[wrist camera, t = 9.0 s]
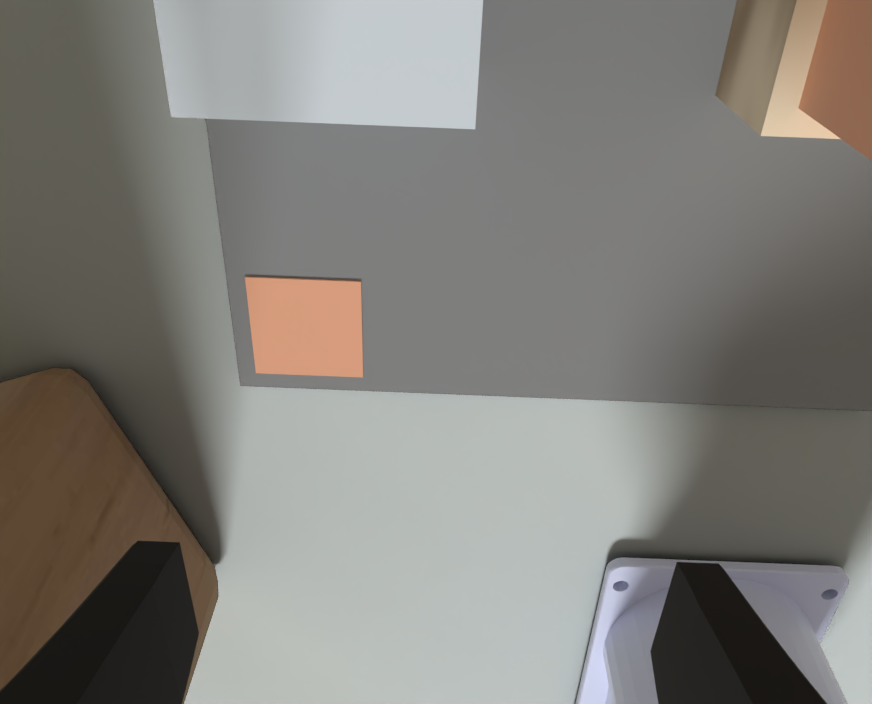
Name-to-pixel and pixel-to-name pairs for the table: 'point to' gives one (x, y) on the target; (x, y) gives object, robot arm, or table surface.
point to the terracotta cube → (843, 74)
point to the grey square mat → (557, 231)
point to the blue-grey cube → (323, 60)
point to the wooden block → (74, 512)
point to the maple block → (772, 65)
